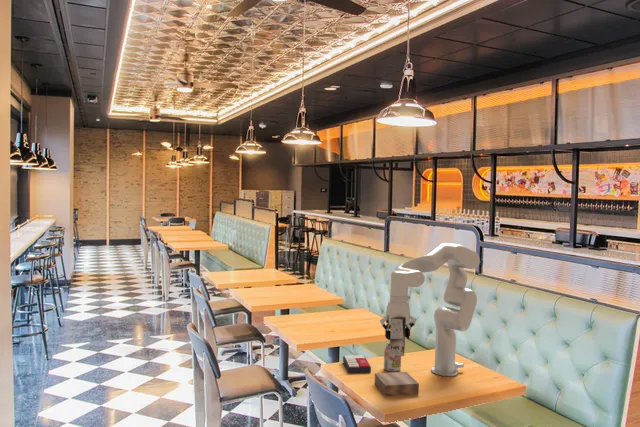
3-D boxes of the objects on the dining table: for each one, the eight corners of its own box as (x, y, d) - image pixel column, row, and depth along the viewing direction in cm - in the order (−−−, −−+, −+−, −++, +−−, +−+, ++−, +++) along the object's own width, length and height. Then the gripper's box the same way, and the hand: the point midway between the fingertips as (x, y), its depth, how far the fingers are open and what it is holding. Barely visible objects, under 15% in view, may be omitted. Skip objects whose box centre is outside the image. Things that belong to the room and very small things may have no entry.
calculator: (348, 366, 229) (343, 354, 244) (348, 375, 229) (342, 362, 244) (371, 365, 230) (364, 353, 245) (370, 374, 231) (364, 362, 245)
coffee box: (404, 356, 206) (405, 319, 206) (389, 355, 207) (390, 318, 207) (404, 349, 215) (405, 314, 215) (390, 348, 216) (391, 313, 216)
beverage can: (394, 365, 242) (395, 341, 241) (406, 370, 234) (406, 346, 234) (380, 368, 237) (380, 343, 236) (391, 373, 230) (392, 348, 229)
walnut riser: (406, 382, 220) (406, 371, 220) (418, 395, 207) (418, 383, 206) (374, 384, 217) (375, 373, 217) (385, 397, 204) (385, 385, 203)
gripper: (412, 296, 216) (411, 334, 217) (377, 298, 211) (375, 337, 212) (420, 300, 209) (419, 339, 210) (384, 301, 204) (382, 342, 205)
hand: (397, 338), depth 211 cm, fingers closed on coffee box, 8 cm apart
